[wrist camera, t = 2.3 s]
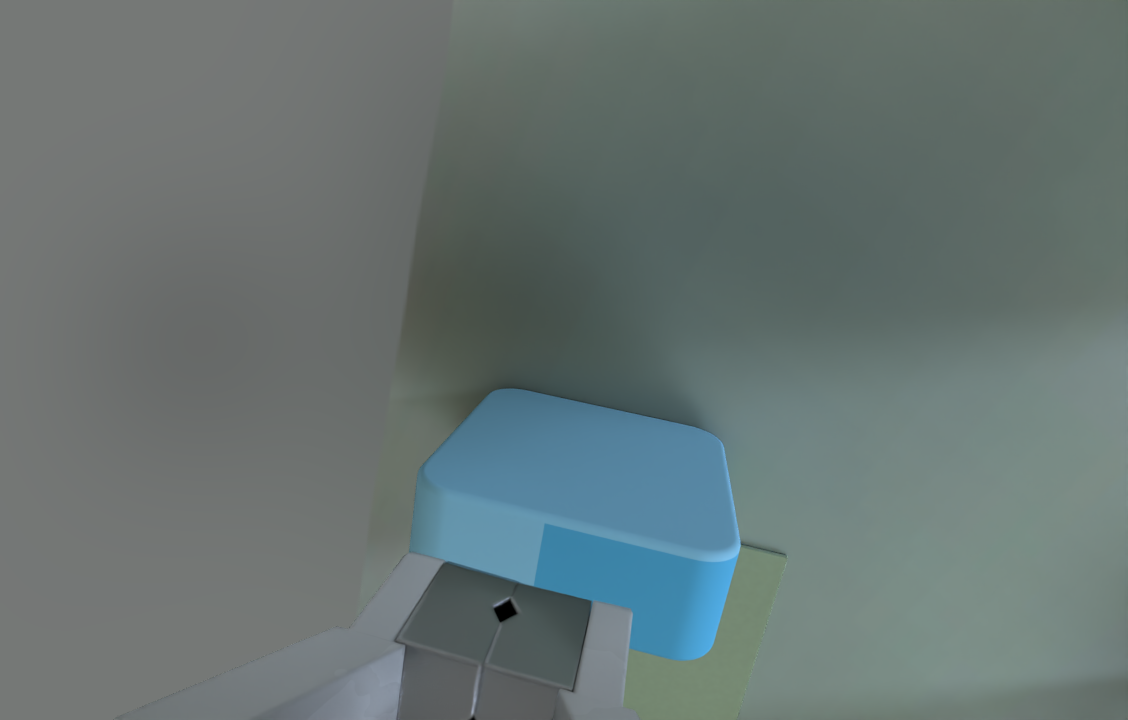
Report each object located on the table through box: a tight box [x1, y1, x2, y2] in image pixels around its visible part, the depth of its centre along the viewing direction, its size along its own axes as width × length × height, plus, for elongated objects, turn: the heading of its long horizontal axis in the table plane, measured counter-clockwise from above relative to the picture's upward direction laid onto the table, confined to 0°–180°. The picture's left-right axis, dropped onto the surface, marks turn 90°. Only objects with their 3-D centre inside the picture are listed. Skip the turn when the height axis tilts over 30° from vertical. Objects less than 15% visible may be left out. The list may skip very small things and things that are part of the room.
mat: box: [623, 544, 788, 720], centre depth 36 cm, size 17×13×1 cm
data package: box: [409, 388, 741, 661], centre depth 28 cm, size 12×4×12 cm, turn 81°
